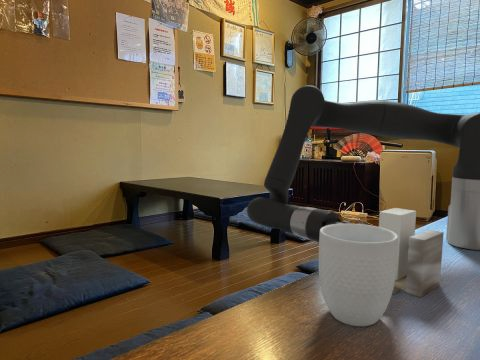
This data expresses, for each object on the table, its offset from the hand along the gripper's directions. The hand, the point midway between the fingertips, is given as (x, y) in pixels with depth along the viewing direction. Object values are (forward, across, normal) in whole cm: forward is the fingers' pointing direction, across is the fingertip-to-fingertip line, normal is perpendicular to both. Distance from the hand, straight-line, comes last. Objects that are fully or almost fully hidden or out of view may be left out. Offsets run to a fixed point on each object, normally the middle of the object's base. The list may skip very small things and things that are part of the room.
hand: (386, 241), depth 67 cm
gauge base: (+2, -1, +7) cm, 7 cm away
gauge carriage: (+2, -2, +6) cm, 6 cm away
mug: (+5, -17, +7) cm, 19 cm away
